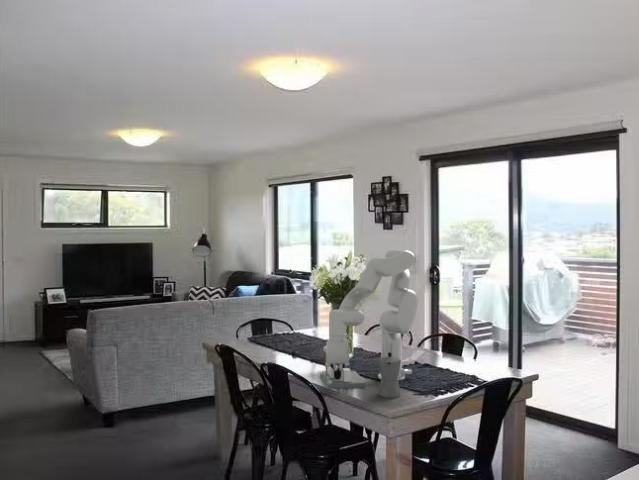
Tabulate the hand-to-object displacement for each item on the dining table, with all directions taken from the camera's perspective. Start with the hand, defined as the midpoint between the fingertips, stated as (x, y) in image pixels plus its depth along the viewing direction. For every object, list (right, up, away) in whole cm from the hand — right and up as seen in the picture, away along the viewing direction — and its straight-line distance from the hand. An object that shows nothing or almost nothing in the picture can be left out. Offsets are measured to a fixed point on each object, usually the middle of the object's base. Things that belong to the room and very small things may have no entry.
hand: (337, 378), depth 270 cm
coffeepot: (+22, -4, -13) cm, 25 cm away
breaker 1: (-3, -1, +14) cm, 14 cm away
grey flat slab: (+2, -3, +8) cm, 8 cm away
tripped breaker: (+4, -1, +1) cm, 4 cm away
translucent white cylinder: (+36, -3, +42) cm, 55 cm away
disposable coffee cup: (-2, -3, +27) cm, 27 cm away
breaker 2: (-2, -1, +7) cm, 7 cm away
